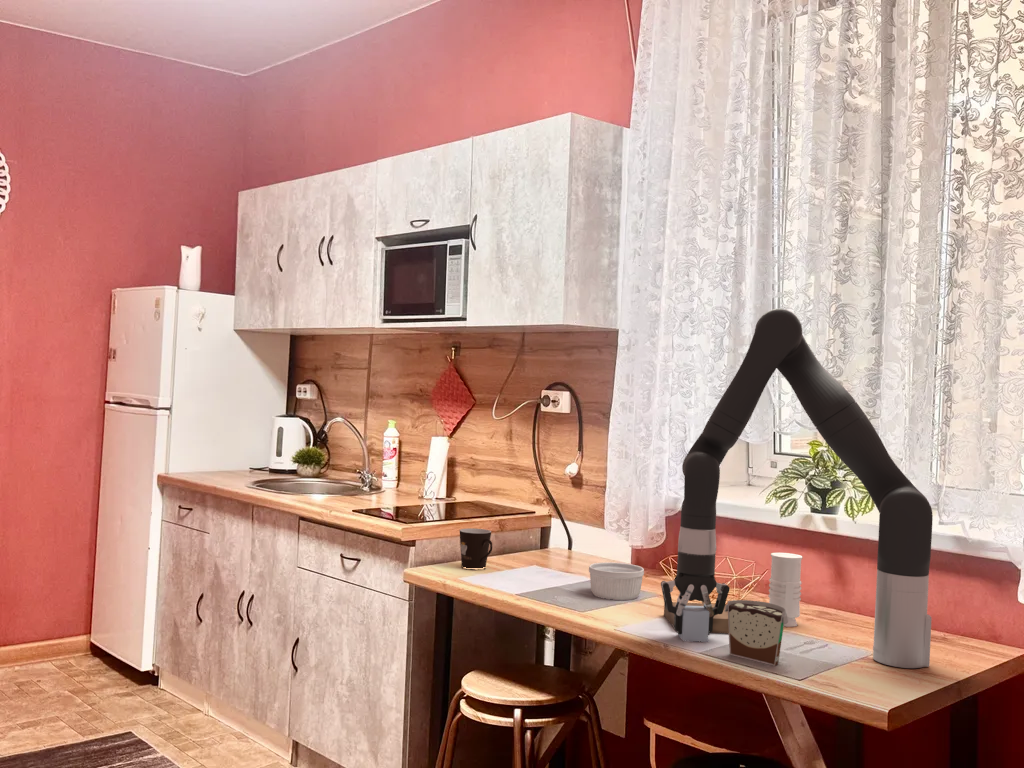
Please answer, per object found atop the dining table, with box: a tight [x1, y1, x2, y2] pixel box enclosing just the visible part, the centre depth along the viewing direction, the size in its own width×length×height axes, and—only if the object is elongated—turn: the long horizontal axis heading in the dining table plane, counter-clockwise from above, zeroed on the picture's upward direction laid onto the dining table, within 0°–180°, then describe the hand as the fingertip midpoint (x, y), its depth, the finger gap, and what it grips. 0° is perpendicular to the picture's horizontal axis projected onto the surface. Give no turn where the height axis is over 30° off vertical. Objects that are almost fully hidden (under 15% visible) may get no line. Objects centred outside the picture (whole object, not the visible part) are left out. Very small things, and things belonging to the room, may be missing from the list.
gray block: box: [677, 606, 709, 643], centre depth 192 cm, size 5×5×6 cm
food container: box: [725, 599, 788, 667], centre depth 180 cm, size 12×6×10 cm, turn 48°
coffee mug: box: [459, 527, 493, 568], centre depth 254 cm, size 12×9×10 cm
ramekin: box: [588, 561, 645, 601], centre depth 229 cm, size 13×13×7 cm
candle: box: [768, 552, 803, 628], centre depth 209 cm, size 7×7×15 cm
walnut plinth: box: [663, 601, 729, 634], centre depth 204 cm, size 14×14×3 cm
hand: (692, 633), depth 192 cm, fingers closed on gray block, 5 cm apart
